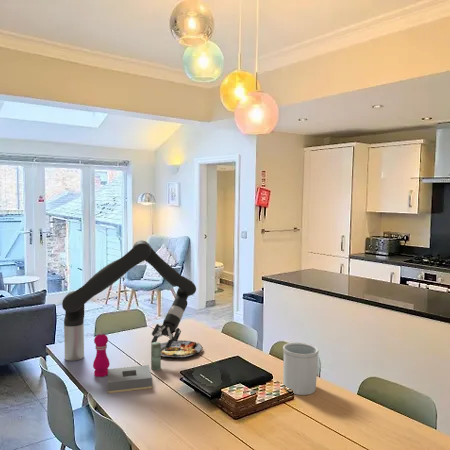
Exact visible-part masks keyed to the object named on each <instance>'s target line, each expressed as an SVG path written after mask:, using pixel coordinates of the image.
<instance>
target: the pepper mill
mask: <svg viewBox="0 0 450 450" xmlns="http://www.w3.org/2000/svg"><path fill="white" fill-rule="evenodd" d="M93 341H94V345H95V350H96V352H95V353H96V355H95V358H94V361H93V364H92V368H93V369H94V370H93V371H94V372H93V374H94V375H93V376H95V377H97V378H103V377H106V376H108V369H109V367H110V365H111V364H110V360H109V358H108V355H107V347H108V345H107V343H108V342H109V337H108V336H107V335H106V334H104V331H103V330H100V331H99V332H98V334H97V335H96V336H95V337H94V339H93Z"/></svg>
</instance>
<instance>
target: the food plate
mask: <svg viewBox="0 0 450 450" xmlns="http://www.w3.org/2000/svg"><path fill="white" fill-rule="evenodd" d="M167 342H168V341H165V342H160V343H161V356H162V357H168V358H187V357H192V356H195V355H198V354H199V353H200V352H201V351H202V350H203V346H202V345H201V344H200V342H195V341H191V340H179V339H178V341H177V342H176V341H174V342H172V345H171V347H170V348H169V349H167V348H166V345H167Z"/></svg>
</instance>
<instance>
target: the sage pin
mask: <svg viewBox="0 0 450 450" xmlns="http://www.w3.org/2000/svg"><path fill="white" fill-rule="evenodd" d="M161 343H162V342H160V341H157V342H153V343H151V342H150V344H151V345H150V348H151V349H150V350H151V351H150V352H151V353H150V354H151V356H150V358H151V362H150V364H151V366H150V370H152V371H159V370H161V369H162V367H161V365H162V364H161V363H162V362H161V361H162V359H161V358H162V357H161Z"/></svg>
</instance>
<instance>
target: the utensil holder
mask: <svg viewBox="0 0 450 450" xmlns="http://www.w3.org/2000/svg"><path fill="white" fill-rule="evenodd" d="M282 351H283V369H282V370H283V371H282V373H283V377H282V378H283V384H284V385H285V386H286V387H287V388H289V389H292V390H293V393H294V394H293V393H292V394H293V395H298V396H299V395H300V396H307V395H312V394H314V393H315V391H316V389H317V380H318V379H317V376H318V361H319V360H318V359H319V357H318V355H319V351H320V350H319V348H318V347H317V346H315V345H313V344H310V343H307V342H299V341H296V342H294V341H293V342H288V343H285V344H284V345H283V346H282Z"/></svg>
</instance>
